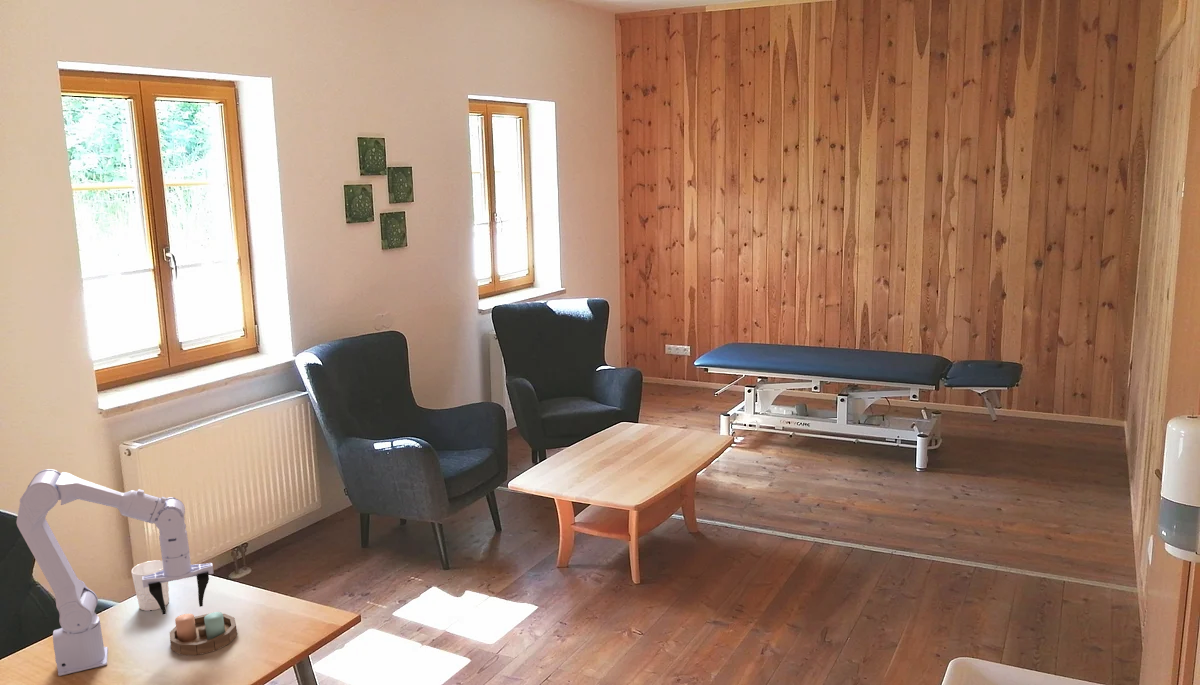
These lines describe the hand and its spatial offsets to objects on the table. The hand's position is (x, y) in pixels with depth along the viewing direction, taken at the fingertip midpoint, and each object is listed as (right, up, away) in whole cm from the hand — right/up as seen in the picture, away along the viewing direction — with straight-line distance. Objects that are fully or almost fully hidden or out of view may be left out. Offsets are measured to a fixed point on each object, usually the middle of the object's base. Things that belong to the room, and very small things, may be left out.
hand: (182, 608), depth 218 cm
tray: (+3, -8, +3) cm, 9 cm away
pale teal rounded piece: (+7, -7, +2) cm, 10 cm away
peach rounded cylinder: (0, -7, +2) cm, 8 cm away
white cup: (-16, -5, +20) cm, 26 cm away
